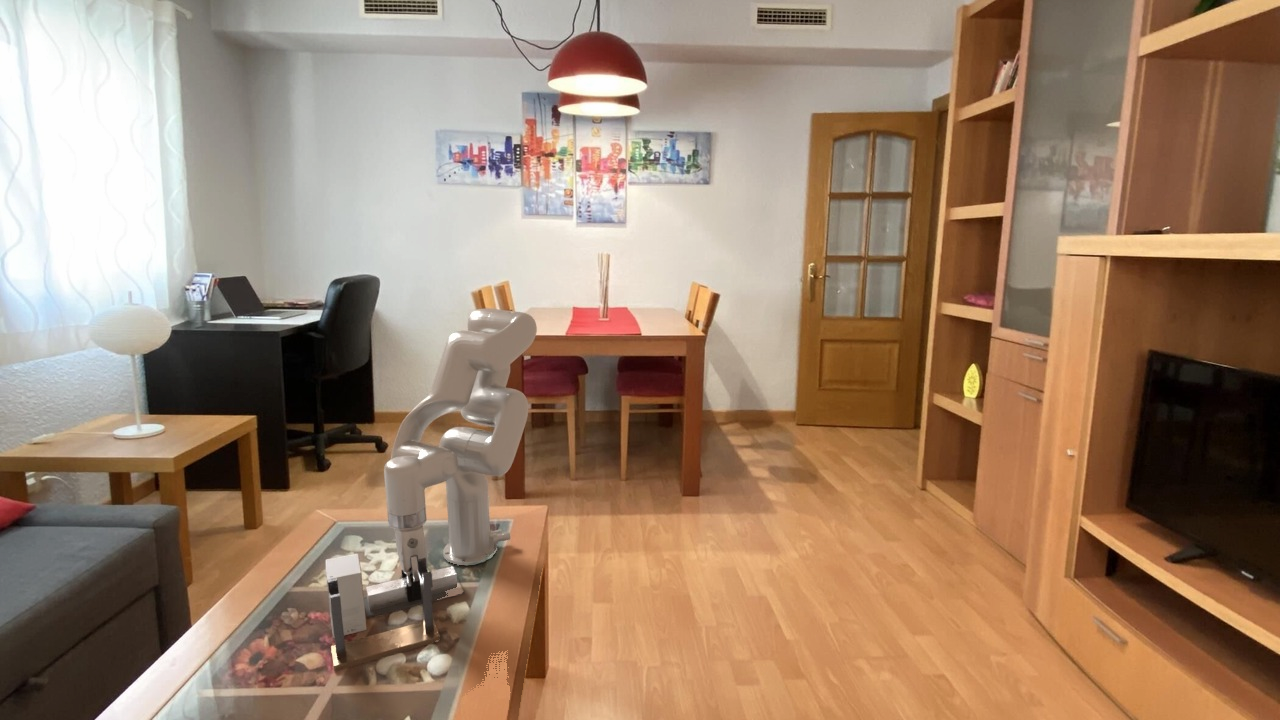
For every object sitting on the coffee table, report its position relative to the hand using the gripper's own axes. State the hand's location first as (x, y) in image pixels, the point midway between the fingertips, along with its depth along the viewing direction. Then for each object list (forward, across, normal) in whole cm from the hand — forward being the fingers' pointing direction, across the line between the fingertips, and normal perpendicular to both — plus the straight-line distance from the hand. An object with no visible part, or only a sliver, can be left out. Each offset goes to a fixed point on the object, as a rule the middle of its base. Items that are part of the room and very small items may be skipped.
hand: (413, 591), depth 148 cm
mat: (+1, 0, 0) cm, 1 cm away
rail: (+1, 0, 0) cm, 1 cm away
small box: (+2, -3, +13) cm, 14 cm away
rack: (+1, -14, +8) cm, 16 cm away
